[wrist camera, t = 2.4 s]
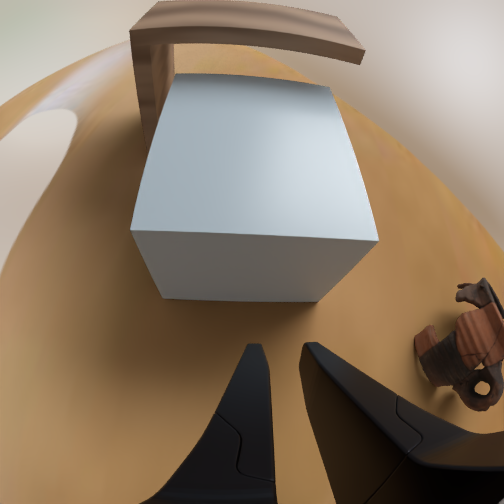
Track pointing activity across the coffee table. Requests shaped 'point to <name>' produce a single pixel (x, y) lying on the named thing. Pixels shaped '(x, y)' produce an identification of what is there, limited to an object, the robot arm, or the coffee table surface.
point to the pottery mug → (468, 348)
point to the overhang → (225, 40)
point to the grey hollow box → (251, 192)
